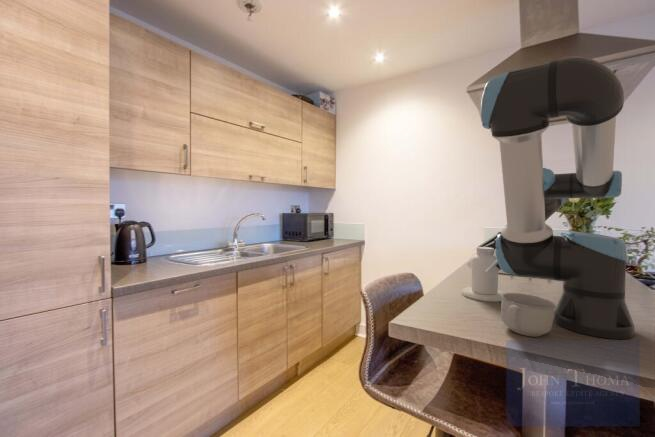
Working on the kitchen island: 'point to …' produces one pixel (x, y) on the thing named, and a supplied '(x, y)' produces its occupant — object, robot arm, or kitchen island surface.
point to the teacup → (527, 314)
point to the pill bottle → (479, 277)
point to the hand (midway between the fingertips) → (477, 270)
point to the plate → (482, 295)
